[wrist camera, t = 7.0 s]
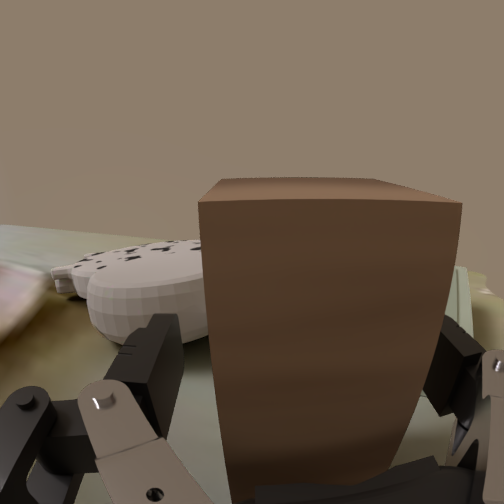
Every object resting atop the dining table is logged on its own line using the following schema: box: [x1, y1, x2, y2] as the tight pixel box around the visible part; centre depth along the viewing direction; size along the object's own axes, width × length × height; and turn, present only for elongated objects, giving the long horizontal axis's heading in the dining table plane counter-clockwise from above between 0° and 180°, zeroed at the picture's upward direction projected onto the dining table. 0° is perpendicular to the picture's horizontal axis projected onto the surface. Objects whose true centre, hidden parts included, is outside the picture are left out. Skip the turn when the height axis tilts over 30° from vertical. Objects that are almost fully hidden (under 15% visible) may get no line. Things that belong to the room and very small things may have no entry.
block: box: [198, 177, 462, 504], centre depth 8 cm, size 4×4×11 cm
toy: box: [51, 240, 208, 345], centre depth 26 cm, size 22×5×20 cm
